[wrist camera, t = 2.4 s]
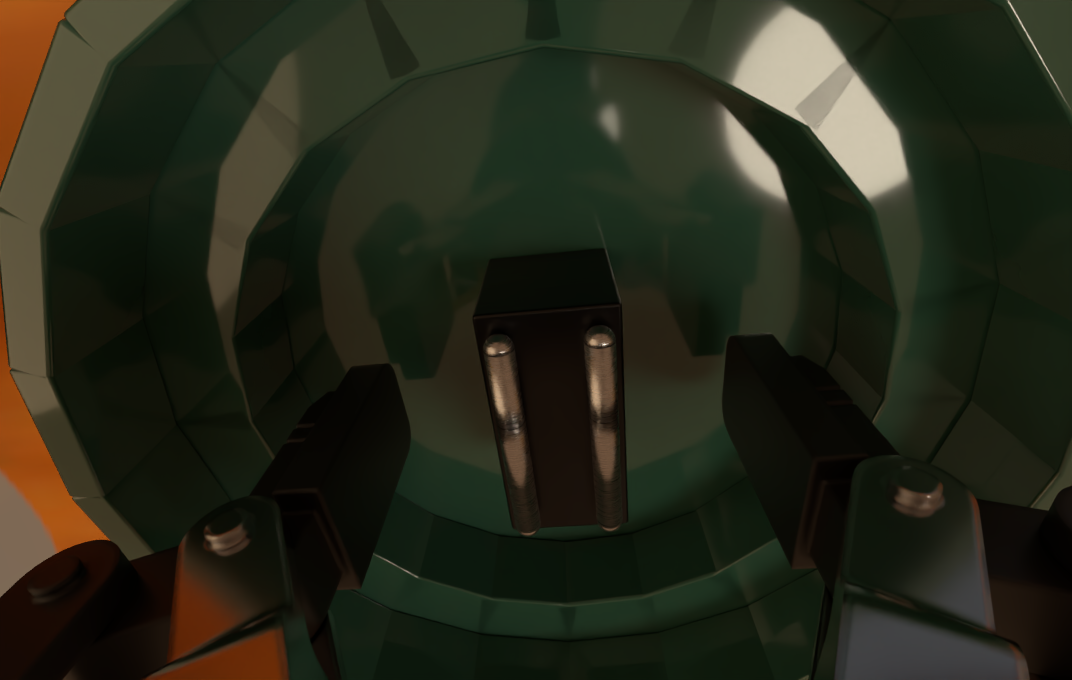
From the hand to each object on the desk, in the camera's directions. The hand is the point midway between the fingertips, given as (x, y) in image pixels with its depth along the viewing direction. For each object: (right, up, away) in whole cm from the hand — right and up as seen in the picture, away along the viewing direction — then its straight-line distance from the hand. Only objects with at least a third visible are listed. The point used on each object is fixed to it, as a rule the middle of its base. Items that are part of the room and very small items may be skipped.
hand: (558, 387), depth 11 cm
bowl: (0, +1, +1) cm, 2 cm away
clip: (0, +1, +1) cm, 1 cm away
